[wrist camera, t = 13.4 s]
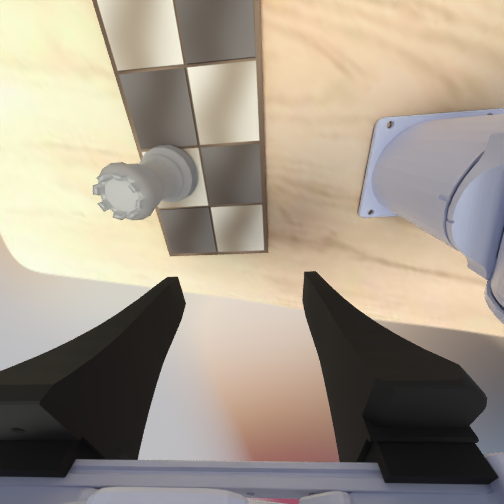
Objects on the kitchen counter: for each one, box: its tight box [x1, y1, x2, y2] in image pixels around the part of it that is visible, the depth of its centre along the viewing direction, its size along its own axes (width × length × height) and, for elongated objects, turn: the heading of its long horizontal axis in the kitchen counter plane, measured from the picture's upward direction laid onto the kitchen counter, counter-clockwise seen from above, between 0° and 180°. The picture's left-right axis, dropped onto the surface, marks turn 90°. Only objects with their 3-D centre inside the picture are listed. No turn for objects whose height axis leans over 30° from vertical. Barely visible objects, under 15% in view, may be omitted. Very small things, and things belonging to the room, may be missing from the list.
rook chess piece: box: [93, 145, 198, 220], centre depth 14 cm, size 4×4×8 cm
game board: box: [92, 0, 268, 256], centre depth 17 cm, size 11×21×1 cm, turn 4°
